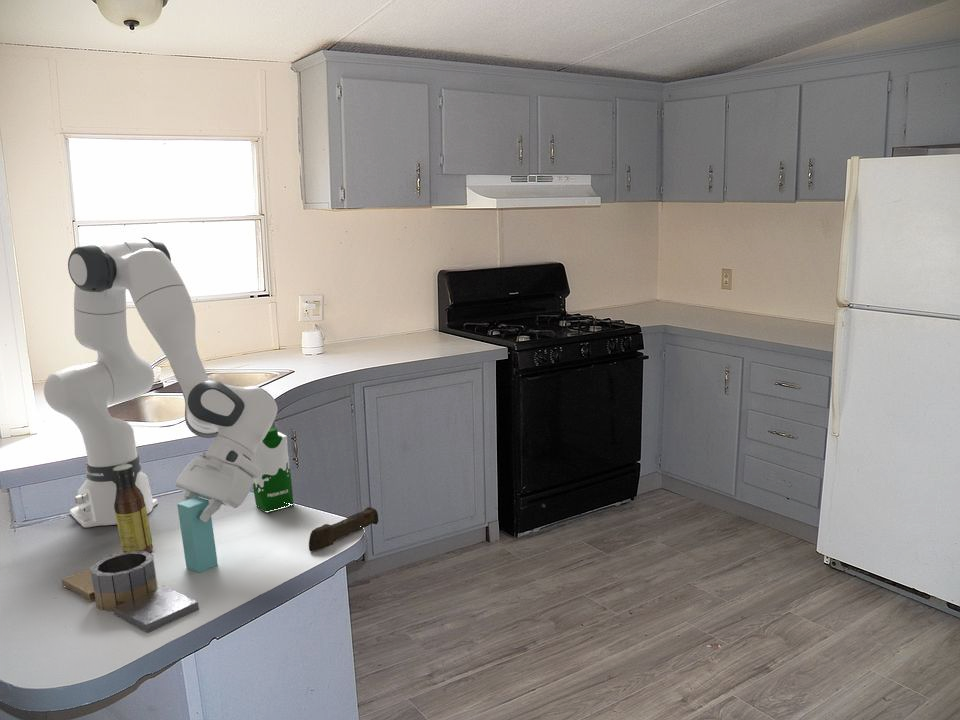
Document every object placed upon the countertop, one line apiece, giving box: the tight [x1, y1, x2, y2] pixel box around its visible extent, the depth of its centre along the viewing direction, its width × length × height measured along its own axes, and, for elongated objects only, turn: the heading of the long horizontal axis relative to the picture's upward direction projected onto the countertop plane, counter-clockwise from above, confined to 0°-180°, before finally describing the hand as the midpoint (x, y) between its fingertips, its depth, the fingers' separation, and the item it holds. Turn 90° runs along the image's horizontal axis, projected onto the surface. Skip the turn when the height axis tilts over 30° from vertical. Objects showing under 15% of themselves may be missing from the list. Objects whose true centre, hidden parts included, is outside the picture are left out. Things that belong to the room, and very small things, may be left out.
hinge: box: [61, 551, 200, 634], centre depth 155 cm, size 34×11×7 cm, turn 50°
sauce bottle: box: [113, 464, 154, 553], centre depth 175 cm, size 6×6×20 cm
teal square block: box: [176, 497, 218, 573], centre depth 167 cm, size 4×4×14 cm
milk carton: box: [252, 426, 294, 512], centre depth 199 cm, size 9×9×20 cm
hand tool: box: [308, 506, 379, 552], centre depth 178 cm, size 19×4×5 cm, turn 140°
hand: (192, 517), depth 166 cm, fingers open, 5 cm apart
